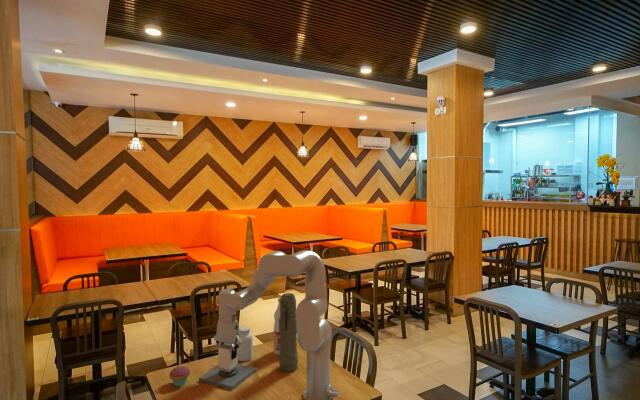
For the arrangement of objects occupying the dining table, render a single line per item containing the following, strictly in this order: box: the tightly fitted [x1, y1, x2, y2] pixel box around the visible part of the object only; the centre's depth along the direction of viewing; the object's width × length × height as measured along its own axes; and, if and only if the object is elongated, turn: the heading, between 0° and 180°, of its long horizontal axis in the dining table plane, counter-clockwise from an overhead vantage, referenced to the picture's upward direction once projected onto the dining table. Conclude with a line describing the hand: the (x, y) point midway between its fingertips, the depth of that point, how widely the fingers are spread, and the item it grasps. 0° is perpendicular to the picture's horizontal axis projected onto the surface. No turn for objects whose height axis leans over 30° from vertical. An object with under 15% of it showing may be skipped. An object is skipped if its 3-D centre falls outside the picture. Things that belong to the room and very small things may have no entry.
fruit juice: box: [273, 297, 281, 356], centre depth 200 cm, size 9×9×28 cm
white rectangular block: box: [217, 343, 239, 372], centre depth 176 cm, size 6×6×10 cm
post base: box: [198, 363, 257, 391], centre depth 176 cm, size 18×18×12 cm
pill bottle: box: [236, 326, 254, 362], centre depth 194 cm, size 8×8×15 cm
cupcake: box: [169, 354, 191, 387], centre depth 169 cm, size 9×8×12 cm
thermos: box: [278, 292, 299, 373], centre depth 183 cm, size 9×12×35 cm
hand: (228, 356), depth 176 cm, fingers closed on white rectangular block, 6 cm apart
